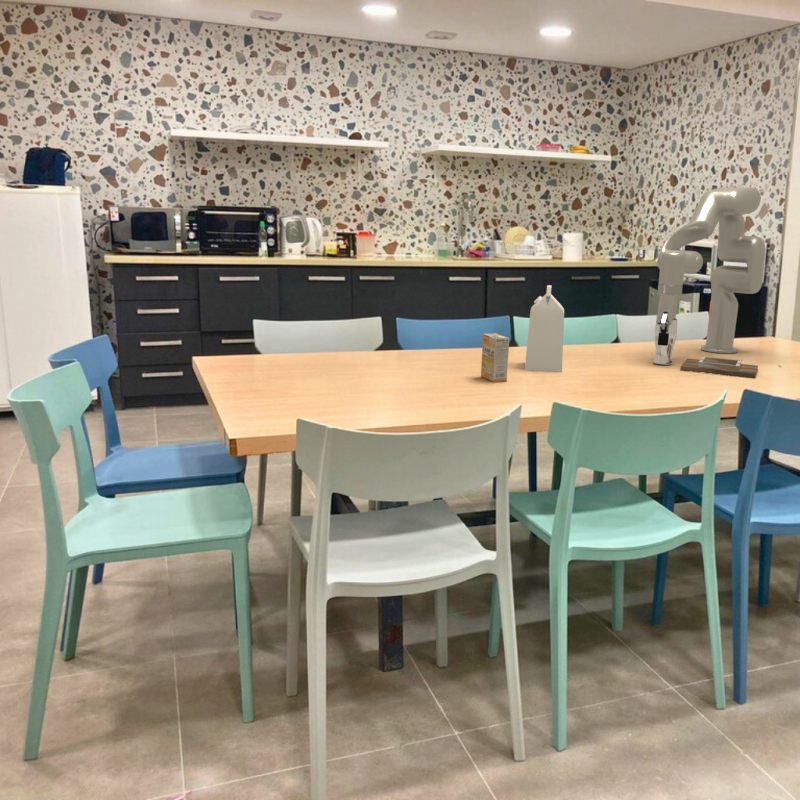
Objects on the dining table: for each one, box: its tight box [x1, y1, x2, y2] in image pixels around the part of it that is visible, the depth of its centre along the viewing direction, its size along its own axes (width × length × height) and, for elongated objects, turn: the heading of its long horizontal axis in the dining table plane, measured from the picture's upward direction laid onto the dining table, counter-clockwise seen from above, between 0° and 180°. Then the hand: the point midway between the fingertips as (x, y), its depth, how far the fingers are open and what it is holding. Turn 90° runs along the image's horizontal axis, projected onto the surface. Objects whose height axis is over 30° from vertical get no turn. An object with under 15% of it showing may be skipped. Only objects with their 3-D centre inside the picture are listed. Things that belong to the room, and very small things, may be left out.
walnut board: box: [679, 356, 759, 379], centre depth 247 cm, size 16×22×3 cm
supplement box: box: [480, 332, 510, 383], centre depth 222 cm, size 8×5×13 cm, turn 21°
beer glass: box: [652, 318, 678, 366], centre depth 253 cm, size 7×7×15 cm
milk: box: [524, 284, 565, 373], centre depth 241 cm, size 12×12×26 cm
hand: (664, 343), depth 254 cm, fingers closed on beer glass, 6 cm apart
